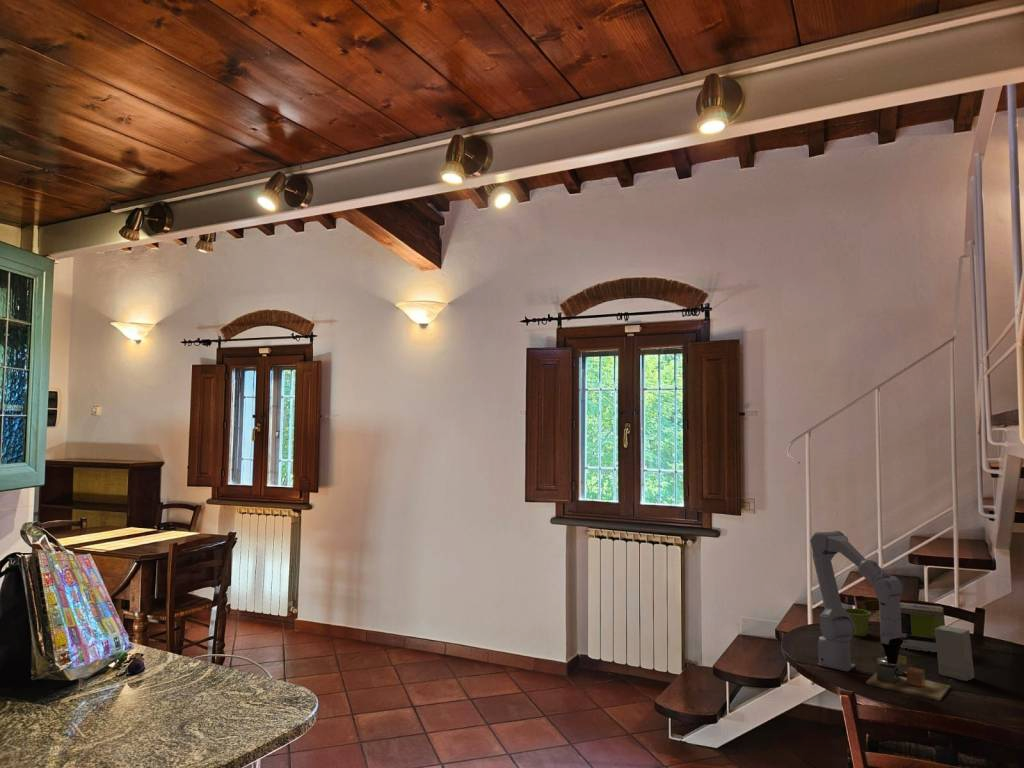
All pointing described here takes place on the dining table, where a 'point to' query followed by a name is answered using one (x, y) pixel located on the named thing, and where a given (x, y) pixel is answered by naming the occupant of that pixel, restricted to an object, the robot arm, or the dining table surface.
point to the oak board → (913, 687)
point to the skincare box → (954, 652)
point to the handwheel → (884, 662)
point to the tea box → (920, 626)
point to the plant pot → (859, 620)
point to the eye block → (887, 673)
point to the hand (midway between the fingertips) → (892, 663)
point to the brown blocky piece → (913, 676)
